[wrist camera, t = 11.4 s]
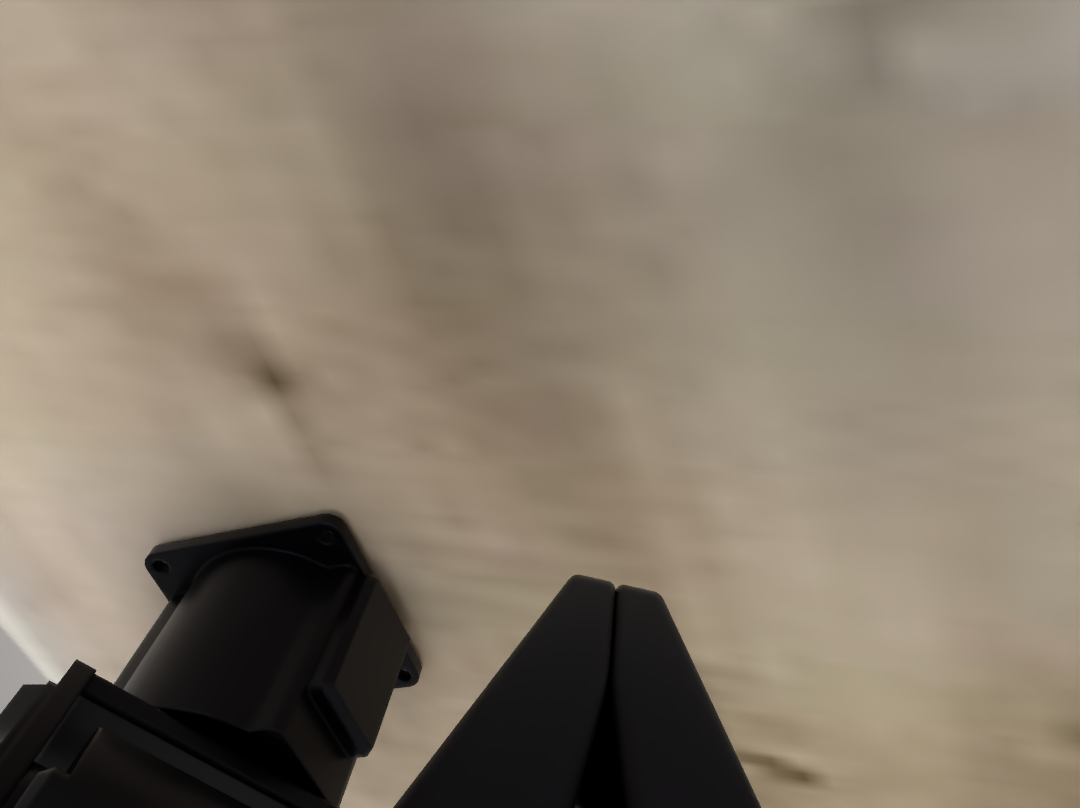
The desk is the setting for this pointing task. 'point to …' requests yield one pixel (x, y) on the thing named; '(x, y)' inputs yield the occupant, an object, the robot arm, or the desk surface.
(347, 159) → the desk surface
